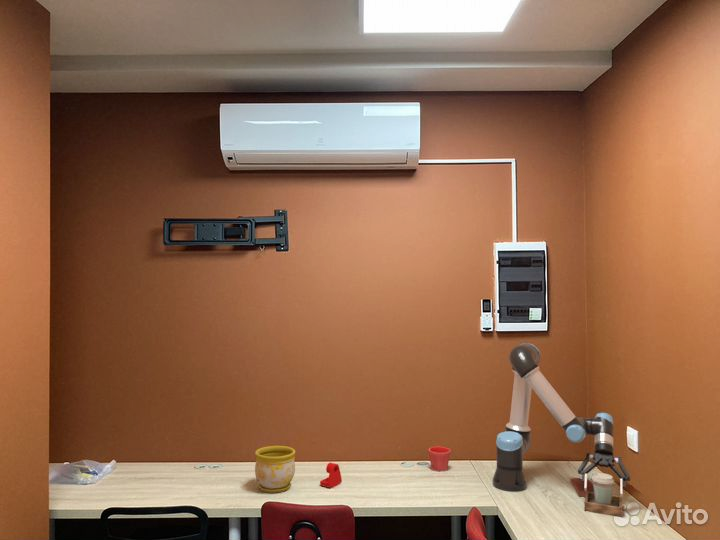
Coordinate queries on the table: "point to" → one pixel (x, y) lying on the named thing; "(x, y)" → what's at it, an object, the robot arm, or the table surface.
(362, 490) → the table surface
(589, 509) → the wood rimmed frame
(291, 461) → the flowerpot
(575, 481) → the wooden tablet
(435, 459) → the flower pot
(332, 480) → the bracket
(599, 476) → the coffee cup
